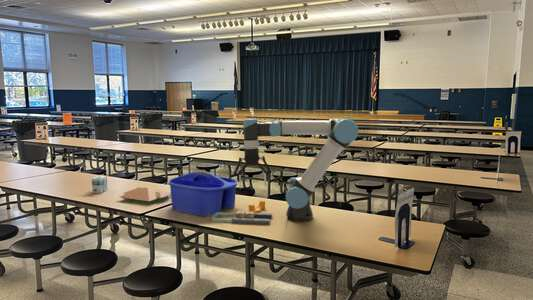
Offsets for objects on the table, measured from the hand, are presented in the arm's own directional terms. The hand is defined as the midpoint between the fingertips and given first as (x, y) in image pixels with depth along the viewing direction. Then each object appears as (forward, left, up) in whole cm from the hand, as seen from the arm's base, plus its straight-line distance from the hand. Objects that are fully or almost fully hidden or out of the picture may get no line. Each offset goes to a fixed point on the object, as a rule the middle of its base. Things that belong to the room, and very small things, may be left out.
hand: (253, 186), depth 201 cm
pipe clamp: (0, -17, -20) cm, 26 cm away
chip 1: (+7, 0, -19) cm, 20 cm away
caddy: (+35, -23, -20) cm, 47 cm away
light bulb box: (+121, -51, -20) cm, 133 cm away
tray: (+17, -1, -20) cm, 26 cm away
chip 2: (+2, 0, -19) cm, 19 cm away
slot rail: (0, 0, -20) cm, 20 cm away
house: (+80, -38, -21) cm, 91 cm away
